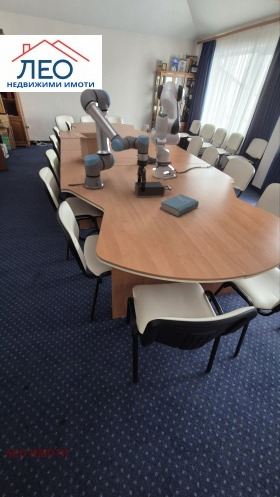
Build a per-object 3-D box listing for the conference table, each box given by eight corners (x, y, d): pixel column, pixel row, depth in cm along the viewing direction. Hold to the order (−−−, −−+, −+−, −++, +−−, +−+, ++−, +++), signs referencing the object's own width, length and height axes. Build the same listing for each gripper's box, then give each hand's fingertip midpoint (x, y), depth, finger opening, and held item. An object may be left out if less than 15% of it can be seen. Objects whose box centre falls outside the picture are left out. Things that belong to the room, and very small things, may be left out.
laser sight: (157, 165, 238) (158, 155, 232) (137, 163, 241) (138, 153, 235) (159, 163, 245) (160, 153, 239) (139, 160, 248) (139, 151, 242)
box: (116, 165, 229) (116, 136, 213) (83, 168, 214) (80, 137, 198) (102, 154, 259) (101, 128, 243) (71, 156, 244) (68, 129, 228)
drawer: (167, 190, 181) (168, 182, 177) (171, 194, 173) (172, 187, 170) (138, 190, 176) (139, 183, 172) (141, 195, 168) (141, 188, 165)
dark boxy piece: (158, 191, 181) (159, 181, 176) (162, 196, 172) (164, 186, 167) (134, 191, 176) (135, 181, 172) (137, 197, 168) (138, 187, 163)
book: (179, 200, 168) (180, 193, 165) (197, 207, 159) (199, 201, 156) (160, 208, 154) (160, 201, 152) (178, 217, 146) (179, 210, 143)
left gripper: (134, 155, 166) (133, 182, 179) (141, 164, 147) (139, 194, 159) (143, 155, 168) (142, 182, 180) (152, 164, 148) (149, 194, 161)
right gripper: (154, 137, 169) (152, 156, 177) (157, 142, 152) (155, 162, 160) (162, 137, 169) (160, 156, 177) (166, 142, 153) (163, 163, 161)
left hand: (140, 188), depth 170 cm, fingers open, 13 cm apart
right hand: (158, 159), depth 169 cm, fingers open, 8 cm apart
